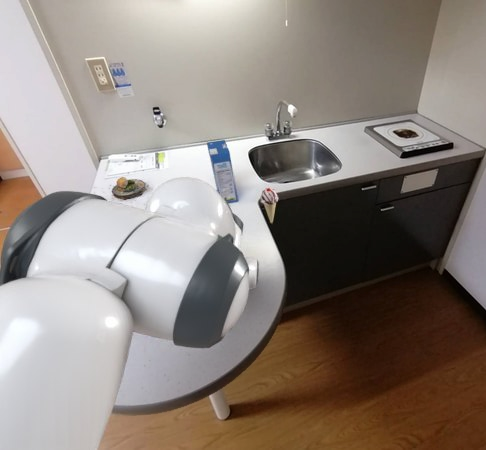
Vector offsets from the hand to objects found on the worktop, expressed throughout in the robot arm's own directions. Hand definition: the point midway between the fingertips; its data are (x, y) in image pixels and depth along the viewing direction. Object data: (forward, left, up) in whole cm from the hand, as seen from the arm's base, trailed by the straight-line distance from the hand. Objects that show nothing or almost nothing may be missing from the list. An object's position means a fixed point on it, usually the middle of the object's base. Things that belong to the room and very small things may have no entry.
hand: (141, 273), depth 78 cm
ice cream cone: (+32, -25, -7) cm, 41 cm away
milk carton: (+46, -4, -7) cm, 47 cm away
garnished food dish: (+43, +35, -7) cm, 55 cm away
